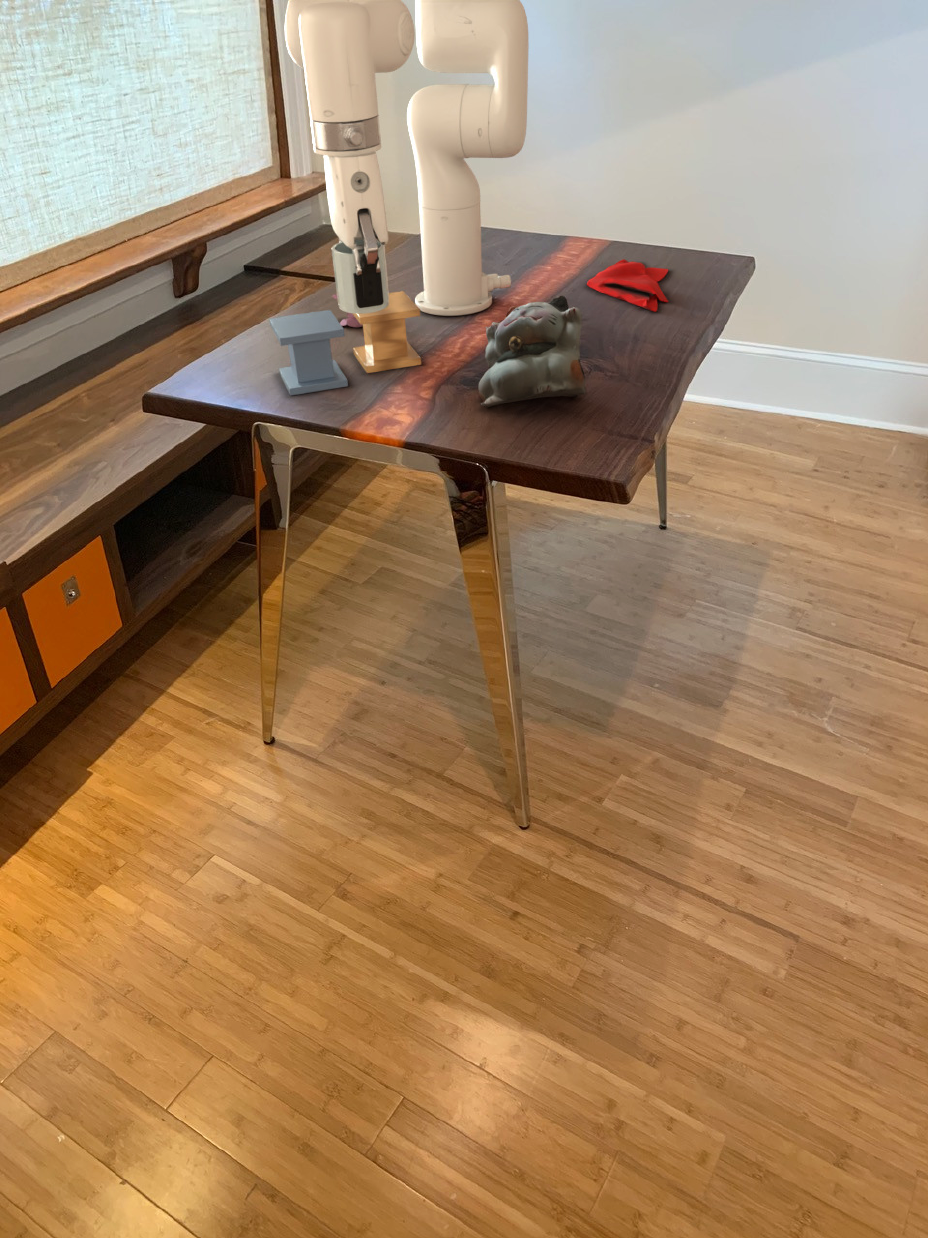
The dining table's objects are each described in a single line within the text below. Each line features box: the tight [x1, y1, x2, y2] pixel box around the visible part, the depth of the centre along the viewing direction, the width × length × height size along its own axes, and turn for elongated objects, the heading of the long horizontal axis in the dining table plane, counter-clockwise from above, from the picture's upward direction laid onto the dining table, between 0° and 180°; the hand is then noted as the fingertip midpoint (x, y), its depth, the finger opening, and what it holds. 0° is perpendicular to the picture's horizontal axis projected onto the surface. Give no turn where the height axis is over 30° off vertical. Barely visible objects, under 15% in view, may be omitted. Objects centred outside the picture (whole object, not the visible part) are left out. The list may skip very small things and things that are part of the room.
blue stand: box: [268, 309, 349, 396], centre depth 129 cm, size 8×8×8 cm
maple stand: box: [352, 290, 422, 374], centre depth 135 cm, size 8×8×8 cm
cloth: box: [586, 258, 669, 312], centre depth 159 cm, size 26×14×2 cm, turn 169°
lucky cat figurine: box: [478, 295, 587, 409], centre depth 121 cm, size 15×12×14 cm
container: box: [331, 239, 390, 314], centre depth 115 cm, size 6×6×7 cm
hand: (363, 295), depth 116 cm, fingers closed on container, 6 cm apart
